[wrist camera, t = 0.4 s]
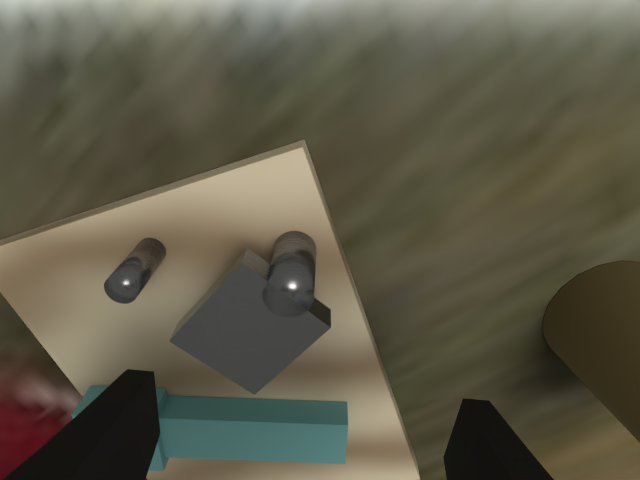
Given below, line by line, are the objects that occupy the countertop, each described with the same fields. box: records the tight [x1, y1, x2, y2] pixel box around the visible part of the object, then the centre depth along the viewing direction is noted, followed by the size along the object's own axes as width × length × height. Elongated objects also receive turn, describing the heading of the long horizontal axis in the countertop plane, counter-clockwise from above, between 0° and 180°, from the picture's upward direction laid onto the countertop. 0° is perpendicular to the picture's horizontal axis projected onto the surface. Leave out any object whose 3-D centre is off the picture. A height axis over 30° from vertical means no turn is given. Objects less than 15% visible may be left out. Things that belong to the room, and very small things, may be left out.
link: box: [71, 386, 348, 471], centre depth 22 cm, size 13×4×2 cm, turn 88°
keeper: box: [104, 231, 331, 395], centre depth 17 cm, size 6×7×5 cm
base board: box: [0, 140, 420, 480], centre depth 22 cm, size 20×15×1 cm
